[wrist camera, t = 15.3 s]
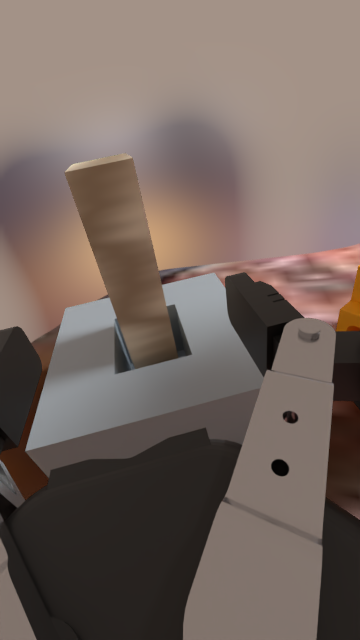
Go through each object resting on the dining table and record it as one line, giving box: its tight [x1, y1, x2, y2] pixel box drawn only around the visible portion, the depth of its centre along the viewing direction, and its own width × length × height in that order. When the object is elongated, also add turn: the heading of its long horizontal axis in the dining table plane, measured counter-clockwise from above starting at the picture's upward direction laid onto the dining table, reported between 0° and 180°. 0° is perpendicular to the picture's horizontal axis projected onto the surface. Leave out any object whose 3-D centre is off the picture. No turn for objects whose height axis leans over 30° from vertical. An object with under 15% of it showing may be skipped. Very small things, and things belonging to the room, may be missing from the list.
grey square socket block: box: [25, 273, 264, 478], centre depth 22 cm, size 14×14×6 cm
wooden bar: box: [65, 153, 178, 369], centre depth 19 cm, size 3×4×16 cm
